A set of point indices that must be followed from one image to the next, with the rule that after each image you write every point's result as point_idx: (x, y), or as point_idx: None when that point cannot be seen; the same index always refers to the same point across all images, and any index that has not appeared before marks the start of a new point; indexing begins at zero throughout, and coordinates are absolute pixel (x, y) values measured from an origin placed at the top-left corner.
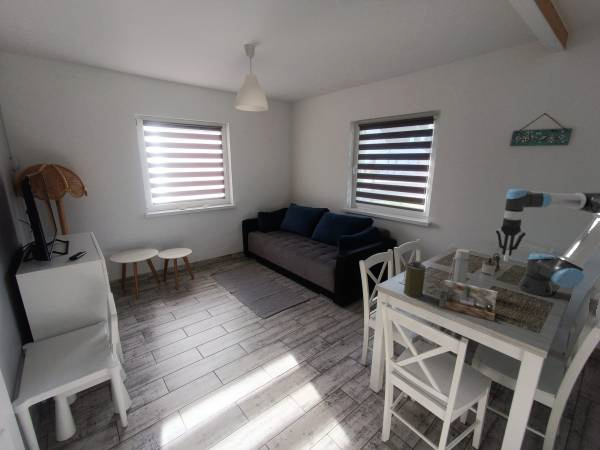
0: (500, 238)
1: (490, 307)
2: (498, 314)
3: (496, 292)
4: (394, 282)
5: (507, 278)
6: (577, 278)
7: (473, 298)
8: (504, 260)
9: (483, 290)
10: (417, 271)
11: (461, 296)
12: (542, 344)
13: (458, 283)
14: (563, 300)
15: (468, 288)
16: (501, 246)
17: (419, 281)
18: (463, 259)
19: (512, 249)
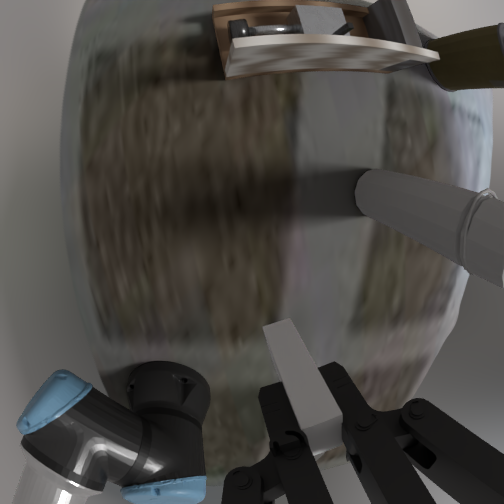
0: (501, 484)
1: (236, 20)
2: (207, 74)
3: (236, 39)
4: (486, 116)
5: (249, 413)
6: (29, 404)
7: None
8: (291, 322)
9: (295, 36)
10: (496, 25)
11: (348, 33)
12: (87, 8)
13: (396, 43)
14: (98, 371)
15: (351, 23)
16: (416, 418)
17: (466, 32)
18: (482, 203)
19: (271, 458)
